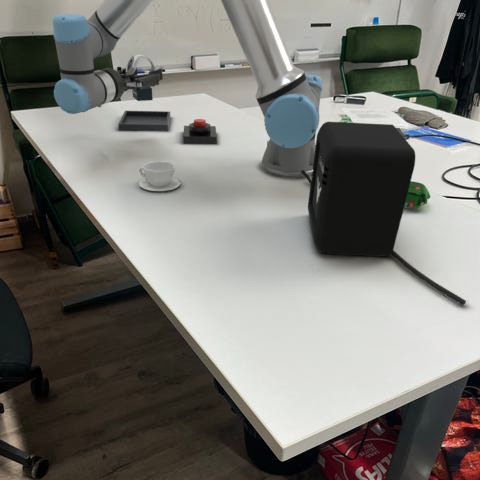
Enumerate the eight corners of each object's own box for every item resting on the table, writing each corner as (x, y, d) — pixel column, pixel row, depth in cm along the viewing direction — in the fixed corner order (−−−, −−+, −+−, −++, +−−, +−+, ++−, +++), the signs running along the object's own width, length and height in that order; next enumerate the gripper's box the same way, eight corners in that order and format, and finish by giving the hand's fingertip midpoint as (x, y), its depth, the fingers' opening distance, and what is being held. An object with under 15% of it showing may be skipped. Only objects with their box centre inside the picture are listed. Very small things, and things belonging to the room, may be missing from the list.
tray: (168, 131, 154) (167, 124, 153) (118, 130, 153) (118, 124, 151) (170, 117, 168) (170, 111, 167) (125, 116, 167) (124, 110, 166)
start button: (205, 128, 145) (205, 122, 144) (194, 127, 145) (193, 121, 144) (205, 124, 148) (205, 119, 147) (194, 124, 148) (193, 118, 147)
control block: (216, 144, 144) (216, 130, 142) (183, 143, 144) (183, 130, 141) (215, 133, 154) (215, 120, 152) (184, 132, 153) (183, 119, 151)
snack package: (362, 191, 117) (366, 171, 114) (428, 203, 113) (434, 181, 110) (356, 202, 112) (360, 180, 109) (425, 214, 108) (432, 192, 105)
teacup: (186, 181, 119) (185, 162, 116) (171, 195, 111) (170, 175, 108) (149, 175, 121) (147, 157, 118) (131, 189, 113) (129, 170, 110)
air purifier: (305, 213, 106) (317, 118, 94) (371, 216, 106) (391, 121, 94) (312, 257, 90) (328, 149, 78) (390, 261, 89) (418, 153, 78)
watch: (126, 97, 138) (122, 53, 131) (153, 95, 141) (150, 53, 134) (130, 101, 134) (127, 57, 127) (158, 99, 137) (156, 56, 130)
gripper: (72, 98, 125) (119, 83, 142) (140, 107, 120) (180, 90, 137) (67, 66, 121) (116, 54, 138) (138, 74, 115) (179, 61, 133)
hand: (148, 72), depth 138 cm, fingers closed on watch, 7 cm apart
